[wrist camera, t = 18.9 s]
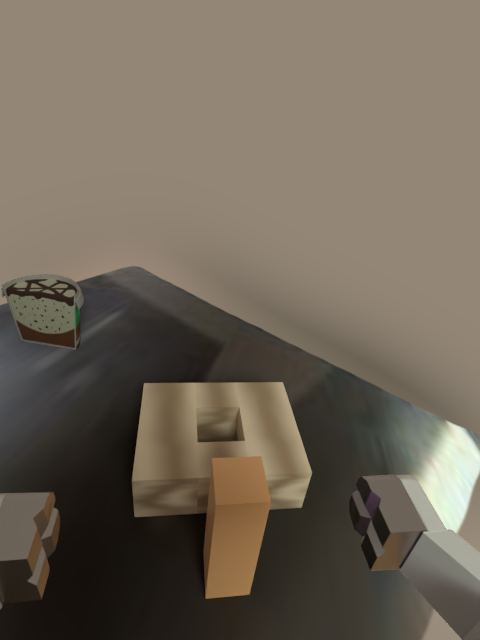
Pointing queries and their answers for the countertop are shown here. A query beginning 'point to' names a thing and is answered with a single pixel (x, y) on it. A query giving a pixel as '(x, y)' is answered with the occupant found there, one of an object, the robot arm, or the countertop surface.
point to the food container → (46, 309)
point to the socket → (214, 443)
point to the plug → (234, 524)
